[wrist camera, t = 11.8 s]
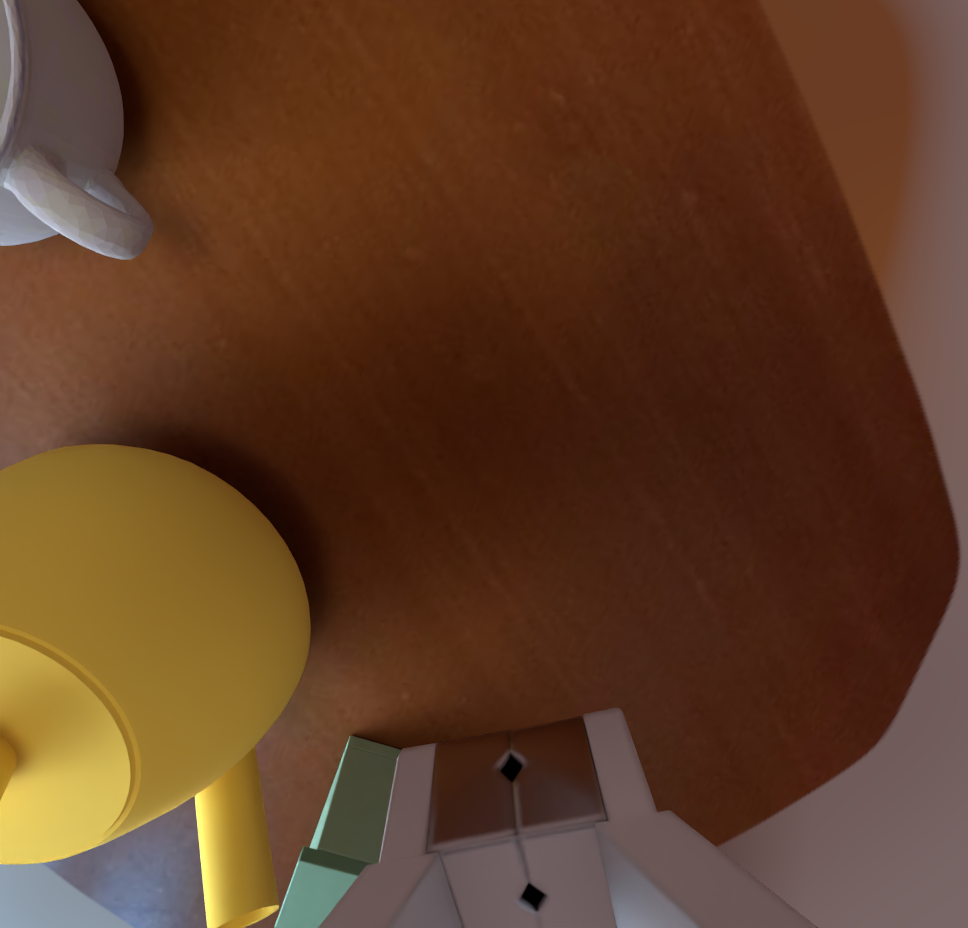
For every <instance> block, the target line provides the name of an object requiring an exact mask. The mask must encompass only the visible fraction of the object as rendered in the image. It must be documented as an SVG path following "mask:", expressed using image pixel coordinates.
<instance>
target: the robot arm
mask: <svg viewBox="0 0 968 928" xmlns="http://www.w3.org/2000/svg"><path fill="white" fill-rule="evenodd" d="M318 928H818V927H816V926H815V925H814V924H813V923H811V922H810V921H809V920H808V919H806V918H805V917H804V916H802V915H801V914H800V913H799V912H797V911H796V910H795V909H794V908H792V907H791V906H790V905H789V904H787V903H786V902H785V901H784V900H782V899H781V898H780V897H779V896H777V895H776V894H775V893H774V892H772V891H771V890H770V889H769V888H767V887H766V886H765V885H764V884H762V883H761V882H760V881H758V880H757V879H756V878H755V877H753V876H752V875H751V874H750V873H748V872H747V871H746V870H745V869H743V868H742V867H741V866H740V865H738V864H737V863H736V862H734V861H733V860H732V859H731V858H730V857H728V856H727V855H726V854H724V853H723V852H722V851H721V850H719V849H718V848H717V847H716V846H714V845H713V844H712V843H711V842H709V841H708V840H707V839H706V838H704V837H703V836H702V835H701V834H699V833H698V832H697V831H695V830H694V829H693V828H692V827H690V826H689V825H688V824H687V823H685V822H684V821H683V820H682V819H680V818H679V817H678V816H677V815H675V814H674V813H673V812H672V811H670V810H668V811H662V812H657V810H656V807H655V804H654V801H653V798H652V795H651V792H650V789H649V787H648V784H647V781H646V778H645V775H644V772H643V769H642V766H641V763H640V760H639V758H638V755H637V752H636V749H635V746H634V743H633V740H632V737H631V734H630V732H629V729H628V726H627V723H626V720H625V717H624V714H623V712H622V710H621V709H620V708H619V707H616V708H611V709H607V710H602V711H597V712H592V713H588V714H583V719H582V716H577V717H572V718H567V719H562V720H557V721H552V722H547V723H542V724H537V725H532V726H527V727H522V728H517V729H512V730H506V731H500V732H494V733H488V734H482V735H476V736H470V737H464V738H458V739H452V740H446V741H440V742H439V743H433V744H427V745H421V746H415V747H409V748H403V749H402V751H401V752H400V754H399V756H398V758H397V762H396V768H395V773H394V779H393V784H392V790H391V796H390V801H389V807H388V813H387V818H386V824H385V829H384V835H383V841H382V846H381V852H380V858H379V863H375V864H370V865H366V867H365V868H364V869H363V871H362V872H361V873H360V874H359V876H358V877H357V878H356V880H355V881H354V882H353V883H352V885H351V886H350V887H349V889H348V890H347V891H346V893H345V894H344V895H343V896H342V898H341V899H340V900H339V902H338V903H337V904H336V905H335V907H334V908H333V909H332V911H331V912H330V913H329V914H328V916H327V917H326V918H325V920H324V921H323V922H322V924H321V925H320V926H319V927H318Z"/></svg>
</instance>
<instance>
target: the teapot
mask: <svg viewBox="0 0 968 928" xmlns="http://www.w3.org/2000/svg"><path fill="white" fill-rule="evenodd" d="M310 633H311V624H310V612H309V603H308V598H307V594H306V589H305V585H304V581H303V579H302V576H301V574H300V571H299V568H298V566H297V563H296V561H295V559H294V558H293V556H292V554H291V552H290V550H289V548H288V547H287V545H286V543H285V542H284V540H283V539H282V537H281V536H280V535H279V533H278V532H277V530H276V529H275V528H274V526H273V525H272V524H271V522H270V521H269V520H268V519H267V518H266V517H265V516H264V515H263V514H262V513H261V512H260V511H259V509H258V508H257V507H256V506H255V505H254V504H253V503H251V502H250V501H249V500H248V499H247V498H246V497H244V496H243V495H242V494H241V493H240V492H239V491H237V490H236V489H235V488H233V487H232V486H230V485H229V484H227V483H226V482H224V481H223V480H222V479H220V478H219V477H217V476H216V475H214V474H212V473H210V472H208V471H206V470H204V469H202V468H200V467H198V466H197V465H195V464H193V463H191V462H189V461H185V460H182V459H180V458H177V457H174V456H172V455H169V454H165V453H161V452H157V451H153V450H149V449H145V448H138V447H130V446H123V445H115V444H85V445H76V446H68V447H62V448H58V449H54V450H50V451H46V452H42V453H39V454H37V455H35V456H32V457H30V458H28V459H25V460H23V461H20V462H18V463H16V464H13V465H11V466H9V467H6V468H4V469H2V470H0V864H33V863H44V862H50V861H55V860H60V859H64V858H67V857H70V856H73V855H76V854H79V853H81V852H84V851H87V850H89V849H92V848H94V847H97V846H99V845H102V844H104V843H107V842H109V841H111V840H113V839H115V838H117V837H119V836H122V835H124V834H126V833H128V832H130V831H132V830H134V829H135V828H137V827H139V826H141V825H143V824H145V823H147V822H149V821H151V820H153V819H155V818H157V817H159V816H161V815H163V814H165V813H167V812H168V811H170V810H172V809H174V808H176V807H177V806H179V805H180V804H182V803H184V802H185V801H187V800H189V799H190V798H192V797H193V796H195V804H196V814H197V825H198V835H199V846H200V856H201V866H202V877H203V887H204V897H205V908H206V918H207V928H244V927H247V926H249V925H251V924H253V923H255V922H258V921H260V920H262V919H264V918H265V917H267V916H269V915H271V914H272V913H274V912H275V911H276V910H277V909H278V908H279V902H278V895H277V889H276V882H275V875H274V869H273V862H272V856H271V849H270V842H269V836H268V829H267V822H266V816H265V809H264V803H263V796H262V789H261V783H260V776H259V770H258V763H257V756H256V750H255V745H256V744H257V743H258V742H259V740H260V739H261V738H262V737H263V736H264V734H265V733H266V732H267V731H268V729H269V728H270V727H271V726H272V724H273V723H274V722H275V721H276V719H277V718H278V717H279V716H280V714H281V713H282V711H283V710H284V708H285V706H286V705H287V703H288V701H289V700H290V698H291V696H292V694H293V692H294V691H295V689H296V687H297V685H298V683H299V681H300V678H301V676H302V673H303V670H304V668H305V665H306V661H307V656H308V652H309V647H310Z"/></svg>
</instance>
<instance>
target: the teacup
mask: <svg viewBox="0 0 968 928" xmlns="http://www.w3.org/2000/svg"><path fill="white" fill-rule="evenodd" d="M123 135H124V115H123V104H122V96H121V92H120V87H119V83H118V79H117V76H116V73H115V70H114V67H113V63H112V61H111V59H110V56H109V54H108V51H107V49H106V47H105V45H104V43H103V41H102V39H101V37H100V35H99V34H98V32H97V30H96V28H95V26H94V25H93V23H92V21H91V20H90V18H89V17H88V15H87V14H86V12H85V11H84V9H83V8H82V6H81V5H80V4H79V2H78V1H77V0H0V246H6V245H18V244H25V243H30V242H35V241H39V240H42V239H45V238H48V237H51V236H54V235H57V234H59V233H60V234H62V235H64V236H65V237H67V238H69V239H71V240H73V241H74V242H76V243H78V244H80V245H82V246H84V247H86V248H88V249H91V250H93V251H95V252H98V253H100V254H103V255H106V256H109V257H113V258H117V259H121V260H123V259H133V258H135V257H137V256H138V255H140V254H141V253H142V252H143V251H144V250H145V248H146V247H147V245H148V243H149V241H150V239H151V237H152V235H153V230H154V225H153V222H152V219H151V217H150V215H149V214H148V212H147V211H146V210H145V209H144V208H143V206H142V205H141V204H140V203H139V202H138V201H137V200H136V199H135V198H134V197H133V196H132V195H131V194H130V193H129V192H128V191H127V190H126V189H125V187H124V185H123V183H122V182H121V181H120V180H119V179H118V178H117V177H116V176H115V175H114V174H115V172H116V169H117V166H118V162H119V158H120V155H121V151H122V144H123Z"/></svg>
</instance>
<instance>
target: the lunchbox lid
mask: <svg viewBox="0 0 968 928" xmlns="http://www.w3.org/2000/svg"><path fill="white" fill-rule="evenodd" d="M366 865H370V864H369V863H365V862H362V861H358V860H354V859H350V858H347V857H343V856H339V855H335V854H332V853H328V852H324V851H321V850H317V849H313V848H309V847H306V846H304V847H303V848H302V851H301V854H300V857H299V859H298V862H297V865H296V868H295V871H294V873H293V876H292V879H291V882H290V885H289V887H288V890H287V893H286V896H285V899H284V901H283V904H282V907H281V910H280V913H279V916H278V918H277V921H276V924H275V927H274V928H318V927H319V926H320V925H321V924H322V922H323V921H324V920H325V918H326V917H327V916H328V914H329V913H330V912H331V911H332V909H333V908H334V907H335V905H336V904H337V903H338V902H339V900H340V899H341V898H342V896H343V895H344V894H345V893H346V891H347V890H348V889H349V887H350V886H351V885H352V883H353V882H354V881H355V880H356V878H357V877H358V876H359V874H360V873H361V872H362V871H363V869H364V868H365V867H366Z"/></svg>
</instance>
